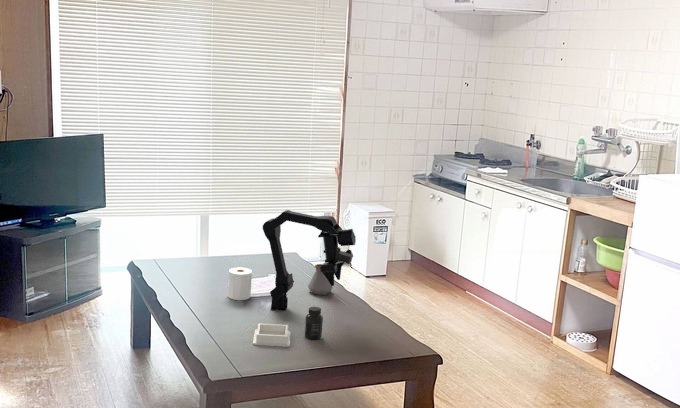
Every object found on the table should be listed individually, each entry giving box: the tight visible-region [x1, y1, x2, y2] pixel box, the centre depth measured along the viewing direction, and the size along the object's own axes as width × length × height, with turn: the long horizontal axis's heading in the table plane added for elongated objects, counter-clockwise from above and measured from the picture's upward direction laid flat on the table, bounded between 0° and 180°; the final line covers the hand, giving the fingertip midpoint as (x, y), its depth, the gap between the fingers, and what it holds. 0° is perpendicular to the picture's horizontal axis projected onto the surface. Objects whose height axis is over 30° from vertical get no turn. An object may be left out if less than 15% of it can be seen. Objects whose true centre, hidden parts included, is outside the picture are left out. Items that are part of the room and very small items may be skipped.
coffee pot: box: [307, 263, 333, 296], centre depth 336 cm, size 21×12×15 cm, turn 27°
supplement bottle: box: [304, 306, 324, 341], centre depth 287 cm, size 7×7×12 cm
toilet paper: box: [227, 267, 253, 301], centre depth 326 cm, size 10×10×12 cm
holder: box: [252, 323, 291, 348], centre depth 283 cm, size 14×14×4 cm
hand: (335, 282), depth 308 cm, fingers open, 9 cm apart
